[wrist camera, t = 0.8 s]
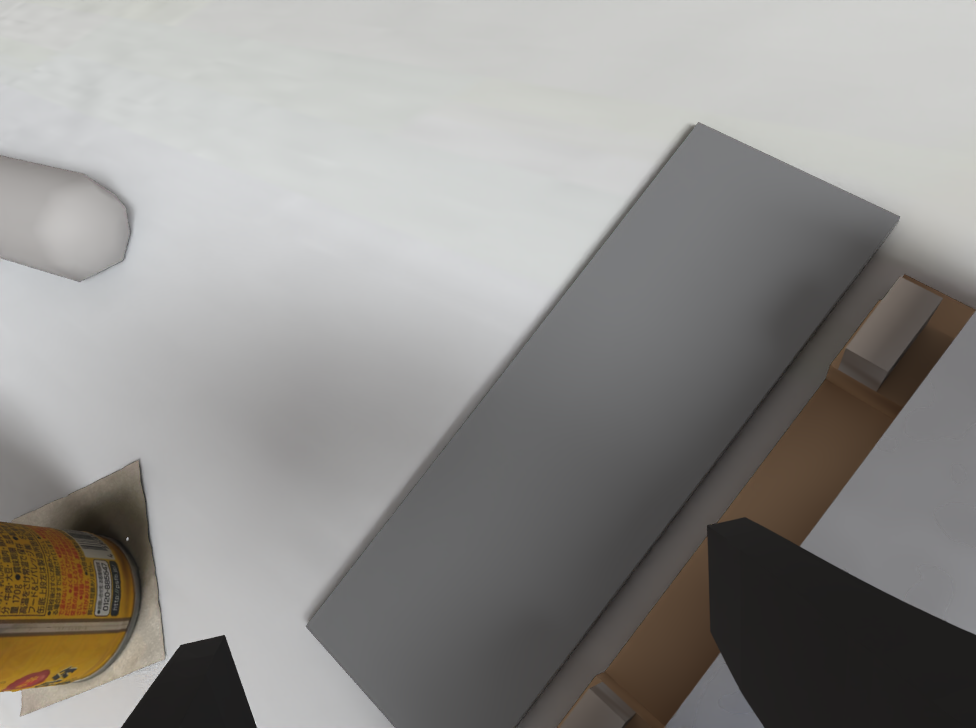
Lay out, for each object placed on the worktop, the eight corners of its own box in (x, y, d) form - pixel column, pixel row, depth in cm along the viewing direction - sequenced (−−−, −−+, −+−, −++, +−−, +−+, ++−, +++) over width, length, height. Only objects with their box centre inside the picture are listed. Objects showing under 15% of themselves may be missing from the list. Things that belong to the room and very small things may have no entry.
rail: (1165, 336, 20) (1259, 274, 16) (664, 1023, 19) (643, 1122, 15) (1010, 263, 21) (1063, 193, 18) (543, 888, 20) (499, 948, 17)
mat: (898, 222, 25) (900, 216, 25) (463, 796, 24) (458, 799, 24) (699, 128, 29) (698, 122, 28) (311, 626, 28) (305, 626, 27)
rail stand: (1189, 435, 21) (1296, 393, 17) (764, 1023, 20) (768, 1128, 16) (898, 286, 24) (928, 222, 20) (529, 776, 24) (484, 811, 20)
